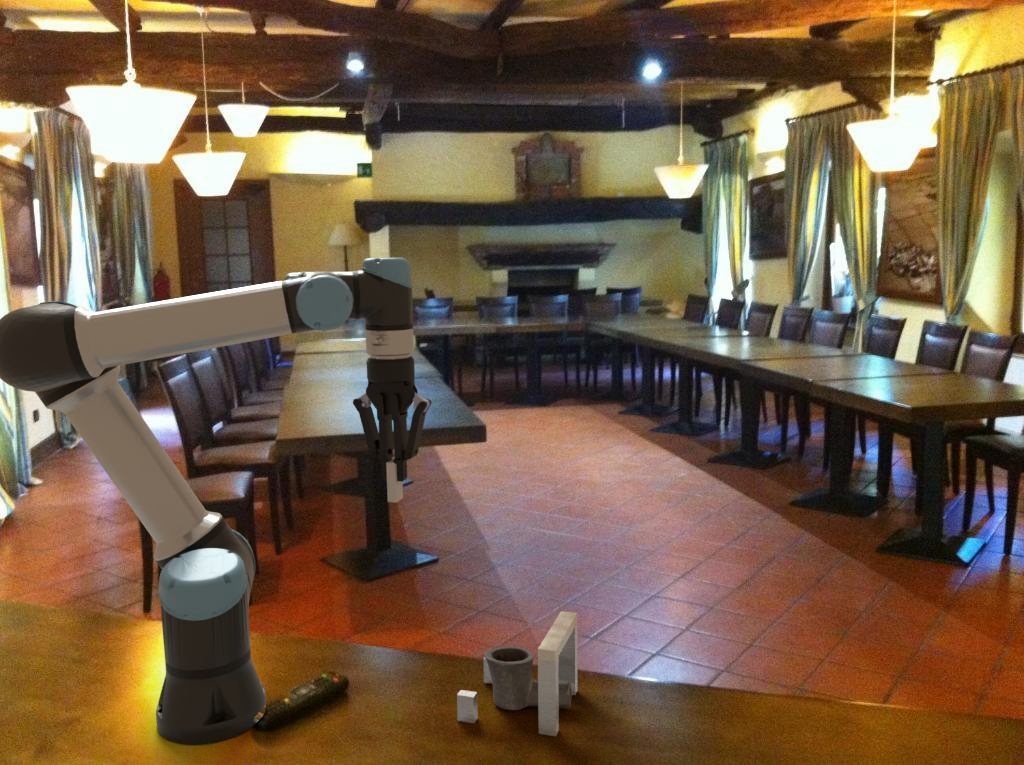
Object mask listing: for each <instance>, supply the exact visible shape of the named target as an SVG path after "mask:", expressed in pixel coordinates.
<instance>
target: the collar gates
mask: <svg viewBox="0 0 1024 765" xmlns="http://www.w3.org/2000/svg"><path fill="white" fill-rule="evenodd" d="M537 681H538V707H537V709H538V710H537V711H538V717H537V719H538V734H539V735H545V736H552V737H557V735H558V733H559V731H560V728H559V727H560V724H559V723H560V722H559V720H560V718H559V714H560V712H559V711H560V707H559V687H558V681H568V682H569V683H570V684H571V690H572V696H573V695H575V696H576V694H577V692H578V612H572V611H562V610H561V611H560V612H559V614H558V615H557V617H556V618H555V620H554V622H553V623H552V625H551V626H550V629H549V630H548V632H547V633H546V635H545V637H544V638H543V640H542V641H541V643H540V645H539V646H538V647H537ZM483 683H484V684H490V685H492V679H491V674H490V670H489V666H488V663H487V660H486V658H485V656H484V657H483ZM456 709H457V713H456V714H457V716H456V717H457V722H460V721H462V722H461V723H470V724H475V723H476V721H477V720H478V717H479V716H478V692H477V691H472V690H471V691H470V690H465V689H464V690H463V689H460V690H459V691H458V692H457V694H456Z"/></svg>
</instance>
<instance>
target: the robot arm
mask: <svg viewBox="0 0 1024 765" xmlns="http://www.w3.org/2000/svg"><path fill="white" fill-rule="evenodd" d="M412 282H413V281H412V272H411V264H410V262H409V260H408V259H407V258H404V257H367V258H364V259H363V261H362V267H361V270H360V269H359V270H352V271H307V270H305V271H300V272H299V271H298V272H290V273H286V275H285V276H284V280H279V281H273V282H266V283H261V284H254V285H248V286H243V287H237V288H231V289H225V290H224V289H223V290H219V291H213V292H212V291H211V292H206V293H200V294H195V295H189V296H183V297H182V296H181V297H178V298H171V299H165V300H159V301H153V302H152V301H151V302H148V303H140V304H134V305H129V306H124V307H123V306H122V307H117V308H112V309H110V308H109V309H104V310H99V311H90V310H89V309H87V308H85V307H83V306H79V305H77V304H74V303H71V302H66V301H61V300H53V301H43V302H40V303H38V304H34V305H30V306H25V307H21V308H17V309H15V310H11V311H10V312H8V313H5V315H3V316H2V317H0V379H1V380H2V381H3V382H4V383H6V384H7V385H8V386H11V387H13V388H15V389H16V390H17V389H18V390H20V391H25V392H34V393H35V394H36V396H37V397H38V399H39V400H40V401H41V402H42V404H43V406H45V408H46V409H47V410H53V411H57V412H61V413H63V414H64V415H65V416H66V418H67V420H68V421H69V422H70V424H71V425H72V426H73V428H74V429H75V430H76V432H77V434H78V435H79V437H81V439H82V441H83V442H84V444H85V445H86V446H87V447H88V449H89V450H90V452H91V453H92V455H93V456H94V457H95V459H96V461H97V462H98V463H99V464H100V466H101V468H102V469H103V470H104V472H105V473H106V474H107V476H108V478H109V479H110V480H111V481H112V483H113V484H114V486H115V487H116V489H117V491H119V493H120V494H121V495H122V497H123V498H124V500H125V501H126V503H127V504H128V506H129V507H130V508H131V510H132V511H133V512H134V514H135V515H136V516H137V518H138V520H139V521H140V523H141V524H142V525H143V526H144V528H145V529H146V531H147V532H148V533H149V535H150V537H151V538H152V539H153V540H154V542H155V550H154V554H153V559H154V561H155V562H156V563H157V565H158V566H159V568H160V569H161V571H160V573H159V574H160V575H159V579H158V581H159V583H158V589H157V595H158V599H159V604H160V613H161V627H162V639H163V648H164V649H163V652H164V653H163V654H164V662H165V675H164V680H163V683H162V688H161V691H160V695H159V699H158V704H157V706H156V709H155V710H156V711H155V718H156V719H155V720H156V728H157V732H158V733H159V735H160V736H161V737H162V738H164V739H166V740H168V741H170V742H174V743H177V744H178V743H179V744H183V745H184V744H185V745H200V744H201V745H202V744H210V743H215V742H220V741H223V740H228V739H231V738H233V737H235V736H238V735H241V734H243V733H245V732H247V731H249V730H250V729H252V728H253V727H254V726H253V719H254V717H255V716H256V715H257V714H258V712H259V711H260V710H261V709H262V708H263V707H264V706H265V705H266V704H267V694H266V689H265V687H264V686H263V684H262V682H261V680H260V677H259V674H258V672H257V669H256V666H255V665H254V662H253V660H252V653H251V651H252V650H251V649H252V648H251V637H250V636H251V634H250V621H249V620H250V618H249V604H250V597H251V592H252V589H253V588H252V587H253V582H254V579H255V578H254V577H255V575H256V559H255V555H254V552H253V549H252V547H251V545H250V542H249V541H248V540H247V539H246V538H245V537H244V536H243V535H242V534H241V533H240V532H238V531H237V530H235V529H232V528H231V527H230V525H229V523H228V522H227V521H226V519H225V518H224V516H223V515H222V514H221V513H219V512H215V511H209V510H207V509H205V507H204V505H203V504H202V502H201V501H200V500H199V497H197V495H196V493H195V492H194V491H193V489H192V488H191V486H190V484H189V483H188V482H187V480H185V478H184V476H183V474H181V472H180V470H179V469H178V467H177V466H176V465H175V463H174V462H173V459H171V457H170V456H169V455H168V453H167V451H166V450H165V449H164V447H163V445H162V444H161V442H160V441H159V439H158V438H157V436H156V435H155V434H154V432H153V431H152V430H151V428H150V427H149V425H148V424H147V422H146V421H145V419H144V418H143V416H142V415H141V414H140V412H139V410H138V409H137V407H135V405H134V403H133V402H132V400H131V399H130V397H129V396H128V394H127V393H126V392H125V390H124V389H123V387H122V386H121V384H120V383H119V376H120V371H121V368H122V367H121V366H124V365H129V364H133V363H138V362H144V361H151V360H155V359H161V358H168V357H172V356H173V357H174V356H178V355H182V354H183V355H184V354H189V353H194V352H200V351H205V350H210V349H215V348H216V349H217V348H221V347H227V346H232V345H237V344H243V343H249V342H254V341H260V340H265V339H270V338H276V337H280V336H286V335H287V336H288V335H292V334H293V335H294V334H299V333H305V332H311V331H316V330H317V331H323V332H325V331H332V330H334V329H337V328H340V327H341V326H342V325H344V323H346V321H348V320H364V324H365V325H364V329H365V353H366V354H367V355H368V356H369V357H367V358H366V378H367V386H366V388H365V393H363V394H362V395H361V396H359V397H356V398H354V399H353V400H352V404H353V406H354V407H355V409H356V411H357V412H358V415H359V419H360V422H361V425H362V429H363V433H364V437H365V440H366V441H365V442H366V445H367V449H368V452H369V456H370V457H371V458H377V459H378V460H379V461H380V462H381V463H380V464H381V477H382V478H381V479H382V480H383V481H386V490H387V503H398V502H399V501H401V500H402V499H403V498H404V488H403V487H404V485H403V483H404V481H406V480H407V478H408V464H407V463H408V460H411V459H414V458H415V457H416V456H417V455H418V453H419V449H420V444H421V439H422V434H423V428H424V425H425V419H426V415H427V412H429V411H428V410H429V408H431V405H432V401H431V399H430V398H424V397H422V396H421V395H420V394H419V391H418V389H417V387H416V385H415V384H416V383H415V377H416V375H415V372H416V371H415V370H416V369H415V358H414V356H413V355H411V354H413V353H415V344H414V343H415V342H414V341H415V340H414V328H413V327H414V322H413V321H414V320H413V319H414V313H413V309H414V308H413V306H414V305H413V283H412ZM412 404H413V407H412V408H413V410H414V411H413V414H412V417H411V422H410V423H411V424H410V428H409V432H408V431H407V430H408V423H407V420H408V419H407V418H408V416H409V415H408V413H409V412H408V410H409V409H410V407H411V405H412ZM372 405H373V407H374V408H375V410H376V418H377V421H378V424H377V422H376V418H375V414H374V411H373V408H372ZM377 425H378V426H377Z"/></svg>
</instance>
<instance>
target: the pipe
mask: <svg viewBox="0 0 1024 765" xmlns="http://www.w3.org/2000/svg"><path fill="white" fill-rule="evenodd" d="M484 657H485V658H486V660H487V663H488V666H489V670H490V674H491V679H492V684H491V685H492V699H493V702H494V703H495V705H496V706H497V707H499V708H500V709H502V710H507V711H519V710H522V709H524V708H526V707H537V708H538V680H535V679H533V662H534V658H535V657H534V654H533V653H532V652H531V651H530V650H528V649H526V648H524V647H519V646H513V645H511V646H508V645H505V646H499V647H498V646H497V647H495V648H491V649H489V650H487V651H485V652H484ZM558 687H559V708H565V707H566V708H567V707H568V708H569V707H571V704H572V699H573V698H572V696H573V695H572V690H571V684H570V683H569V682H568V681H559V680H558Z"/></svg>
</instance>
